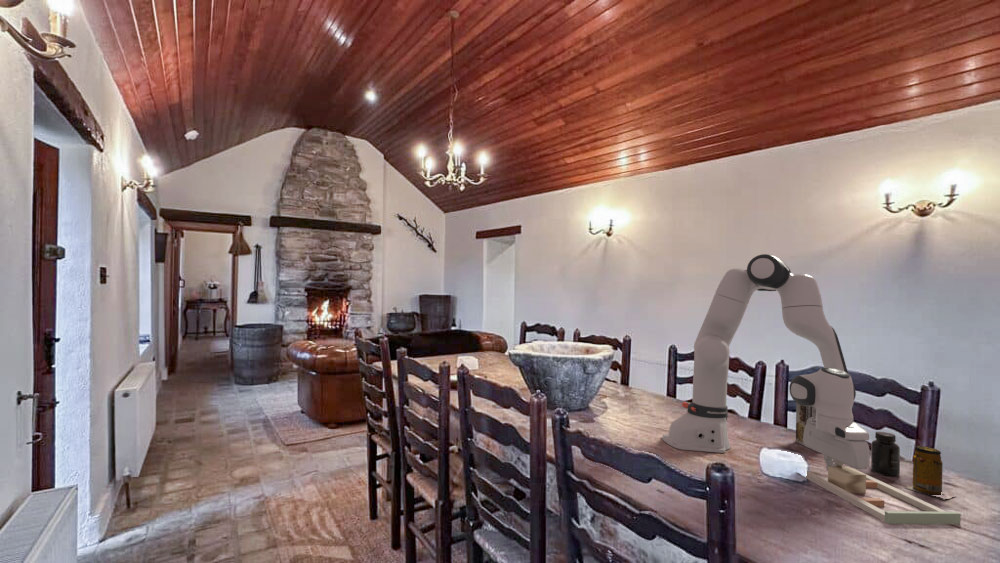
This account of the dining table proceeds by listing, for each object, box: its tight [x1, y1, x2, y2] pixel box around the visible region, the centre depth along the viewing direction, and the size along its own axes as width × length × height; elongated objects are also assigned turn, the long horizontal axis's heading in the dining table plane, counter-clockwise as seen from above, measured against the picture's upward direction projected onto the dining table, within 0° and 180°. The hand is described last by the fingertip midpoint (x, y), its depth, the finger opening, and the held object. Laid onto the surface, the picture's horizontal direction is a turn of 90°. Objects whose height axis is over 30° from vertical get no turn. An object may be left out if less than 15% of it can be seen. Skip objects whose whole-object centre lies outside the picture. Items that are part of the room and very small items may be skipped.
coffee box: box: [795, 402, 816, 450], centre depth 165 cm, size 9×6×16 cm
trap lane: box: [805, 467, 962, 525], centre depth 124 cm, size 18×30×2 cm, turn 4°
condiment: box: [905, 445, 946, 501], centre depth 128 cm, size 7×8×12 cm
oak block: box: [827, 465, 867, 494], centre depth 128 cm, size 6×6×5 cm
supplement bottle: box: [870, 431, 901, 477], centre depth 141 cm, size 7×7×12 cm
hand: (833, 472), depth 133 cm, fingers closed
